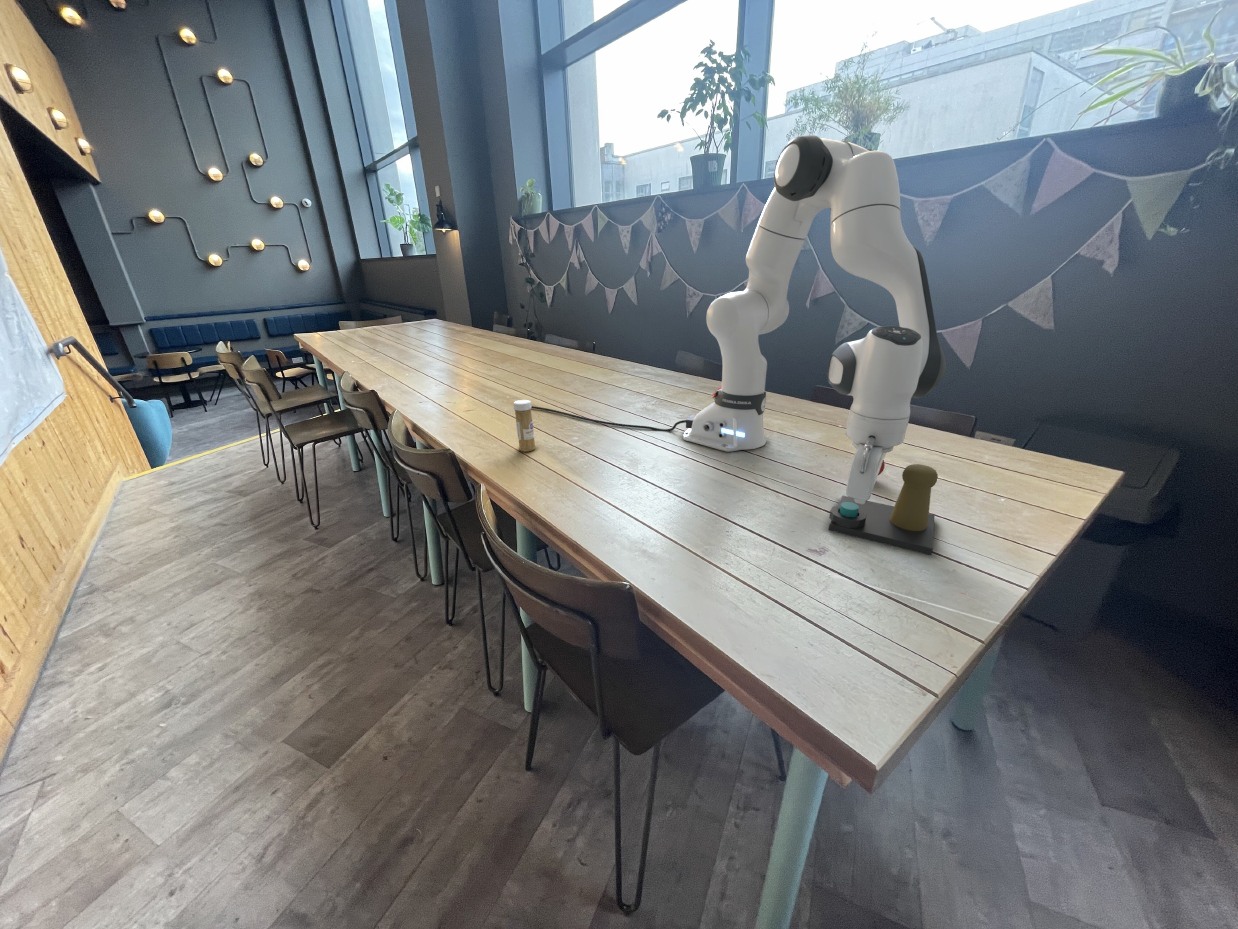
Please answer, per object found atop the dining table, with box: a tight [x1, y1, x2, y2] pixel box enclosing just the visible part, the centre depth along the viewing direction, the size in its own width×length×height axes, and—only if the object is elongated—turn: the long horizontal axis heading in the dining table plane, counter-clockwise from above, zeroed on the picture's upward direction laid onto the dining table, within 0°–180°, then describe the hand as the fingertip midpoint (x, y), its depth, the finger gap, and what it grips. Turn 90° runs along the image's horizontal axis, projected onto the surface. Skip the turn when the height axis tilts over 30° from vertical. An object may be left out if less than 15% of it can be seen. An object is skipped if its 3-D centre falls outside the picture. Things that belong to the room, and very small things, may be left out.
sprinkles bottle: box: [513, 399, 536, 453], centre depth 126 cm, size 5×5×14 cm
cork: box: [889, 463, 939, 531], centre depth 83 cm, size 6×6×11 cm
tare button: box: [839, 502, 859, 517], centre depth 86 cm, size 3×3×2 cm
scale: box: [828, 495, 936, 556], centre depth 87 cm, size 16×13×3 cm
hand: (860, 500), depth 84 cm, fingers closed
